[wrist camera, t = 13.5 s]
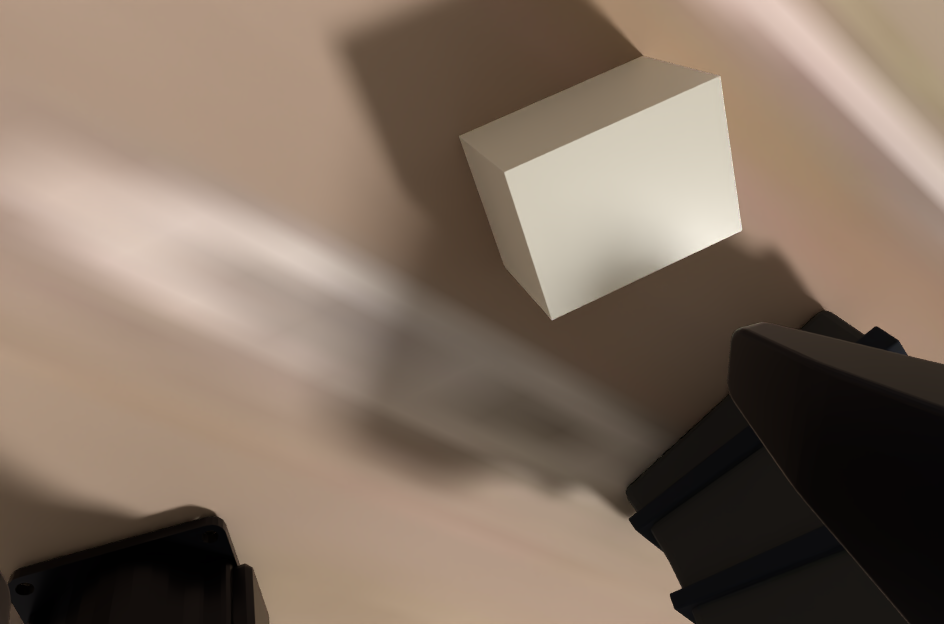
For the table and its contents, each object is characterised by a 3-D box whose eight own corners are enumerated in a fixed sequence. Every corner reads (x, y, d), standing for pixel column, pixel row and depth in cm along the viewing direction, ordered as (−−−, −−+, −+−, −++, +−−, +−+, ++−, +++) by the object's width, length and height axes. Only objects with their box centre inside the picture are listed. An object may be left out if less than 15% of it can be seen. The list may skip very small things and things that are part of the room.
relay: (502, 265, 23) (551, 320, 20) (457, 135, 21) (504, 172, 17) (667, 189, 24) (742, 230, 20) (640, 54, 21) (720, 75, 18)
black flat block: (952, 315, 28) (1232, 757, 17) (650, 438, 34) (715, 821, 23) (921, 255, 26) (1214, 711, 15) (606, 397, 32) (656, 794, 21)
